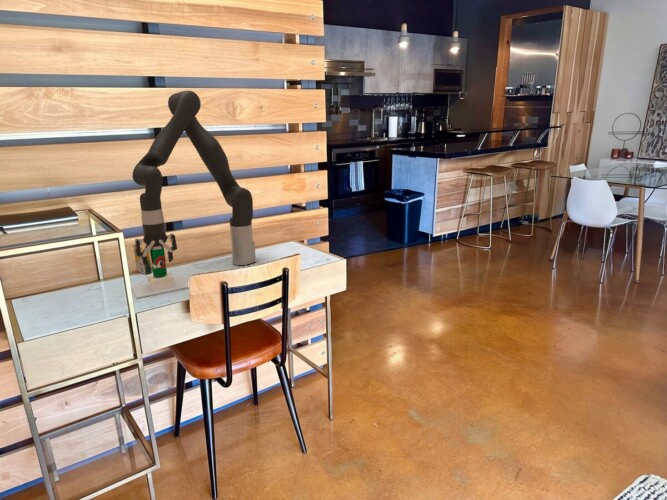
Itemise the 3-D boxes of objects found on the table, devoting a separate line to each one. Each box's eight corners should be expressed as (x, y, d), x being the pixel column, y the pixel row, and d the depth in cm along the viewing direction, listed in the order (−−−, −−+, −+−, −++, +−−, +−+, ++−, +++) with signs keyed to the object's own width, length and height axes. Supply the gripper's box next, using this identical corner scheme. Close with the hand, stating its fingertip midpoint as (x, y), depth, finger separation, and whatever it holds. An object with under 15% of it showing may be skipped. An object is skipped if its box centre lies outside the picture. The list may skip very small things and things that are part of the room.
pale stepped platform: (183, 276, 186) (181, 265, 185) (193, 287, 175) (191, 276, 174) (130, 286, 176) (128, 275, 175) (137, 299, 165) (135, 287, 164)
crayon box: (152, 272, 191) (148, 246, 188) (145, 274, 189) (141, 247, 186) (143, 269, 196) (139, 242, 192) (136, 271, 194) (132, 244, 190)
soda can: (169, 273, 177) (165, 243, 173) (163, 278, 172) (159, 247, 168) (156, 273, 177) (152, 243, 173) (150, 277, 172) (146, 247, 169)
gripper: (170, 216, 175) (175, 257, 179) (130, 221, 167) (136, 264, 172) (175, 220, 169) (180, 262, 173) (134, 226, 161) (140, 269, 166)
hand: (158, 263), depth 173 cm, fingers open, 8 cm apart
